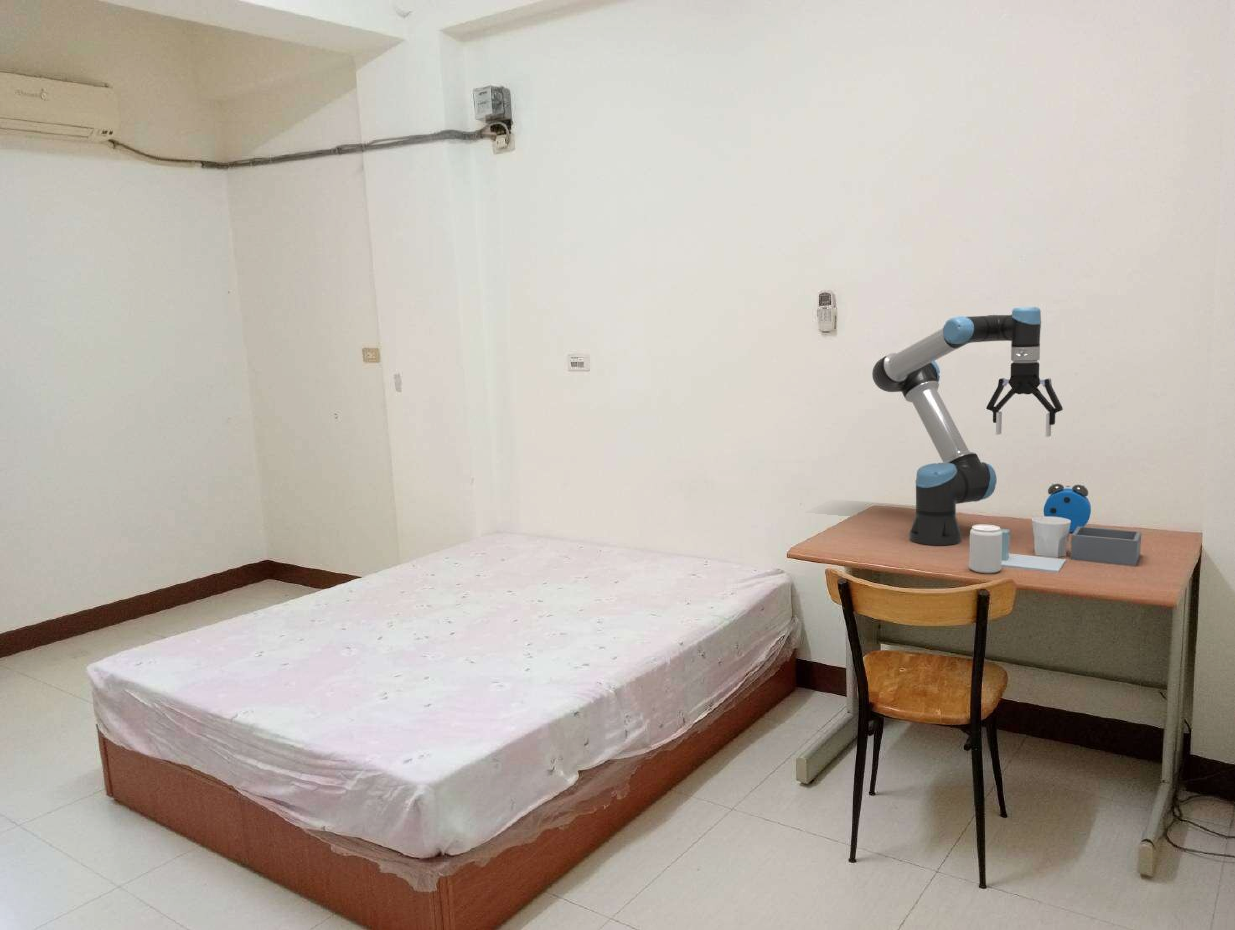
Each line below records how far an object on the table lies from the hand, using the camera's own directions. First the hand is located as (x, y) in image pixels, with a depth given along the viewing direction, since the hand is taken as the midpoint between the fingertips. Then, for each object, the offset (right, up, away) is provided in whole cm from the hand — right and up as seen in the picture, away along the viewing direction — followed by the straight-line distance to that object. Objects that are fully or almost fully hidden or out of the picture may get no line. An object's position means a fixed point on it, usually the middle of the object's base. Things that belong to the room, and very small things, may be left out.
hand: (1023, 435), depth 263 cm
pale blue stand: (-4, -36, -11) cm, 38 cm away
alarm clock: (+24, -30, +22) cm, 44 cm away
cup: (+7, -34, -3) cm, 35 cm away
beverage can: (-18, -38, -16) cm, 44 cm away
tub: (+19, -35, -9) cm, 41 cm away
